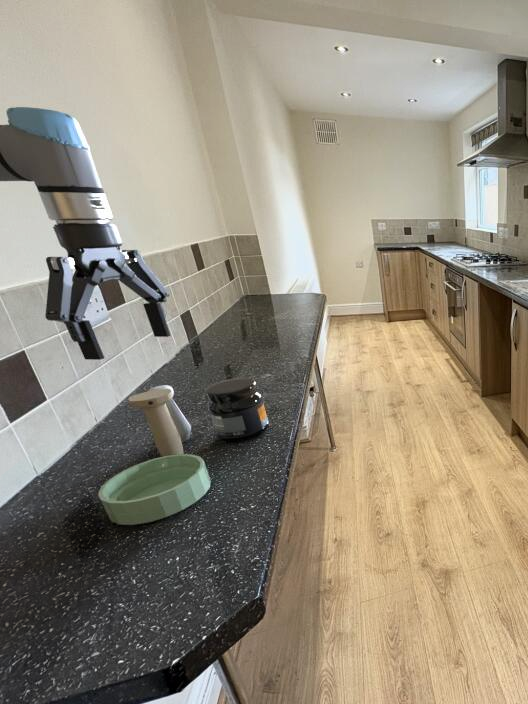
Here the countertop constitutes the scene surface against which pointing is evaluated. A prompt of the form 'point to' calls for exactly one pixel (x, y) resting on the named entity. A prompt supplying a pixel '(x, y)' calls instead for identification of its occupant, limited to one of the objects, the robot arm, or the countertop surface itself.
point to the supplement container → (236, 410)
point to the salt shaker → (176, 416)
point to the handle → (159, 420)
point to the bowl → (155, 489)
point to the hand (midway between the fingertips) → (131, 346)
